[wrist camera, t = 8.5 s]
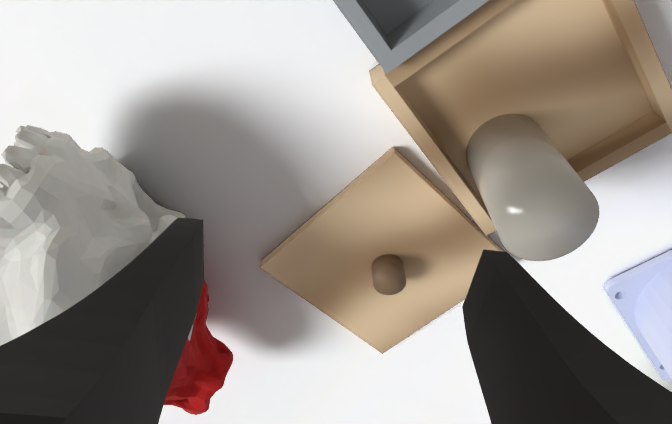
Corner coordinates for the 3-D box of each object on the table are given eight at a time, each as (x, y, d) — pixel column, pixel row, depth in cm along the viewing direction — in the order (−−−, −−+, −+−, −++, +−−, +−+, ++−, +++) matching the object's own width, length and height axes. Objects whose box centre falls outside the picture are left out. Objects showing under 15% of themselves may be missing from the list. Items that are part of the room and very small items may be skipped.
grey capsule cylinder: (558, 156, 23) (614, 230, 18) (489, 196, 24) (525, 275, 20) (523, 97, 21) (574, 162, 17) (451, 143, 23) (480, 215, 18)
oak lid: (511, 258, 27) (522, 281, 25) (381, 345, 30) (383, 370, 29) (392, 146, 23) (397, 166, 22) (261, 260, 27) (257, 284, 25)
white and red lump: (66, 72, 21) (308, 269, 29) (-83, 218, 25) (168, 357, 33) (-41, 216, 14) (318, 423, 22) (-225, 390, 18) (138, 512, 26)
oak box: (665, 108, 22) (686, 124, 21) (478, 216, 25) (486, 235, 24) (580, -84, 18) (599, -80, 17) (369, 70, 21) (371, 84, 20)
